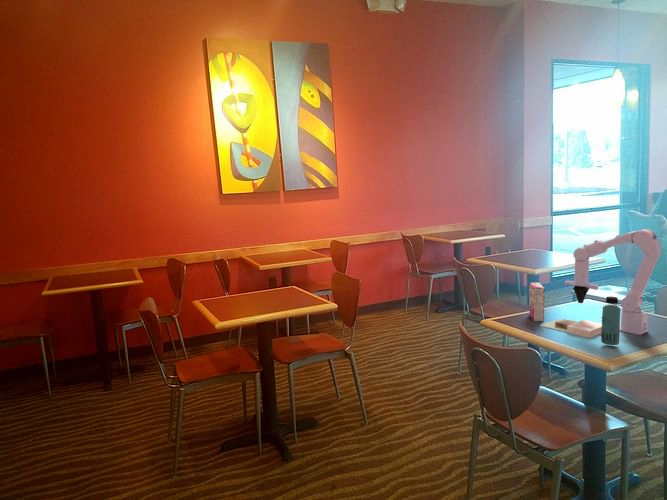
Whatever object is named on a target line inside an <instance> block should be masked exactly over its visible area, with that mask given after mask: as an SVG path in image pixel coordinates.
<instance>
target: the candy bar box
mask: <svg viewBox="0 0 667 500" xmlns="http://www.w3.org/2000/svg"><path fill="white" fill-rule="evenodd" d="M528 293H529V295H528V296H529V302H528V303H529V304H528V305H529V317H530V318H531V319H532V321H533V322H544V321H545V287H544V285H542V284H541V283H540V282H529V291H528Z"/></svg>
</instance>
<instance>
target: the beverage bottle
mask: <svg viewBox="0 0 667 500" xmlns="http://www.w3.org/2000/svg"><path fill="white" fill-rule="evenodd" d="M605 299H606V300H605V303H607V304H605V305H604V306H602V314H601V323H602V327H601V328H602V330H601V332H602V333H601V334H600V337H601V338H600V340H601V344H605V345H606V346H608V345H609V346H619V344H620V332H621V331H620V327H621V312H622V308H620V307H619V306H618V305H616V304H618V303H619V298H618V297H616V296H606V298H605Z"/></svg>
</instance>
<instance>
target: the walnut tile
mask: <svg viewBox="0 0 667 500" xmlns="http://www.w3.org/2000/svg"><path fill="white" fill-rule="evenodd" d="M558 320H559V321H556V322H555V326H556V327H561V328H565V329H567V326H568V325H571V324H574V323H577V322H578V321H575V320H571V319H567V318H562V319H558Z"/></svg>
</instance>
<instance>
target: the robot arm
mask: <svg viewBox="0 0 667 500" xmlns="http://www.w3.org/2000/svg"><path fill="white" fill-rule="evenodd" d="M625 243H627V244H635V245H636V246H638V248H640V249H641V251H642V252H643V254H644V256H643V258H642V261H641V263H640V266H639V268H638V271H637V272H636V275H635V277H634V279H633V282H632V284H631V287H630V288H629V290H628V292H627V294H626V296H625V297H624V298H623V299H622V300H621V301H620V306H621V314H620V332H624V333H629V334H634V335H637V336H641V335H643V334H645V333H648V332H649V329H648V328H649V315H648V313H646V312H643V311H642V308H641V306H642V305H643V302H644V300H643V296H644V292H645V289H646V287H647V285H648V282H649V280H650V278H651V275H652V273H653V271H654V268H655V266H656V264H657V263H658V259H659V257H660V254H661V249H660V246H659V241H658V236H657V235H656V233H655V232H654V231H653V230H652V229H649V228H643V229H641V230H639V229H638V230H635V231H630V232H626V233H624V234H622V235H619V236H616V237H614V238H612V239H609V240H606V241H603V240H602V239H601V240H598V239H596V240H593V242H592V243H588V244H584V245H583V246H581V247H578V248H576V249H575V250H574V251H573V254H572V255H573V258H574V276H573V277H574V280H564V286H570V287H572V290H573V292H574V293H575V297H576V300H577V304H578V303H579V304H583V303H584V301H585V298H586V295H587V293H588V291H589V290H595V291H597V290H599V284H594V283H591V282H589V276H590V275H589V272H590V258H594V257H596V256H599V255H602V254H605V253H607V251H608V249H610V248H612V247H615V246H619V245H622V244H625Z"/></svg>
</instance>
